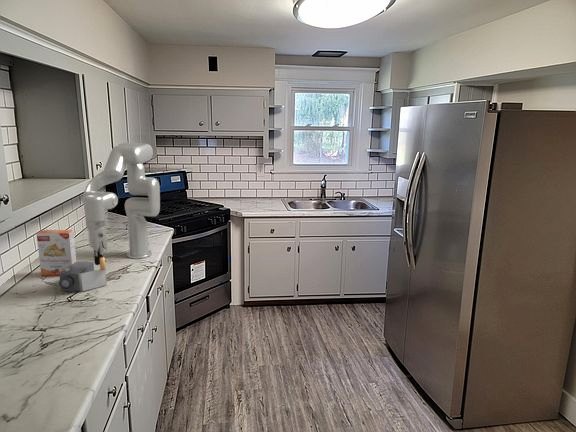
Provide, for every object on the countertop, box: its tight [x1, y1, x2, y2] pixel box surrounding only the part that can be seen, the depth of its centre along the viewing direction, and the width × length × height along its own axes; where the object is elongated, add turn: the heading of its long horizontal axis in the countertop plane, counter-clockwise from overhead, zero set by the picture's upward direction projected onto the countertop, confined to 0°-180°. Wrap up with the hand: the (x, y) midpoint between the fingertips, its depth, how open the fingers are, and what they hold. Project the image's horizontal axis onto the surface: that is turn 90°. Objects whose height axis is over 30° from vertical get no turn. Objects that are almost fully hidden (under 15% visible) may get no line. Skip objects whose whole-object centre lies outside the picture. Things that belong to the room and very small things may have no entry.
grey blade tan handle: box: [78, 256, 108, 293], centre depth 173 cm, size 11×2×13 cm, turn 134°
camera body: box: [58, 261, 95, 292], centre depth 177 cm, size 17×8×9 cm, turn 1°
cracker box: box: [36, 229, 77, 277], centre depth 188 cm, size 14×6×21 cm, turn 98°
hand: (99, 264), depth 178 cm, fingers closed
